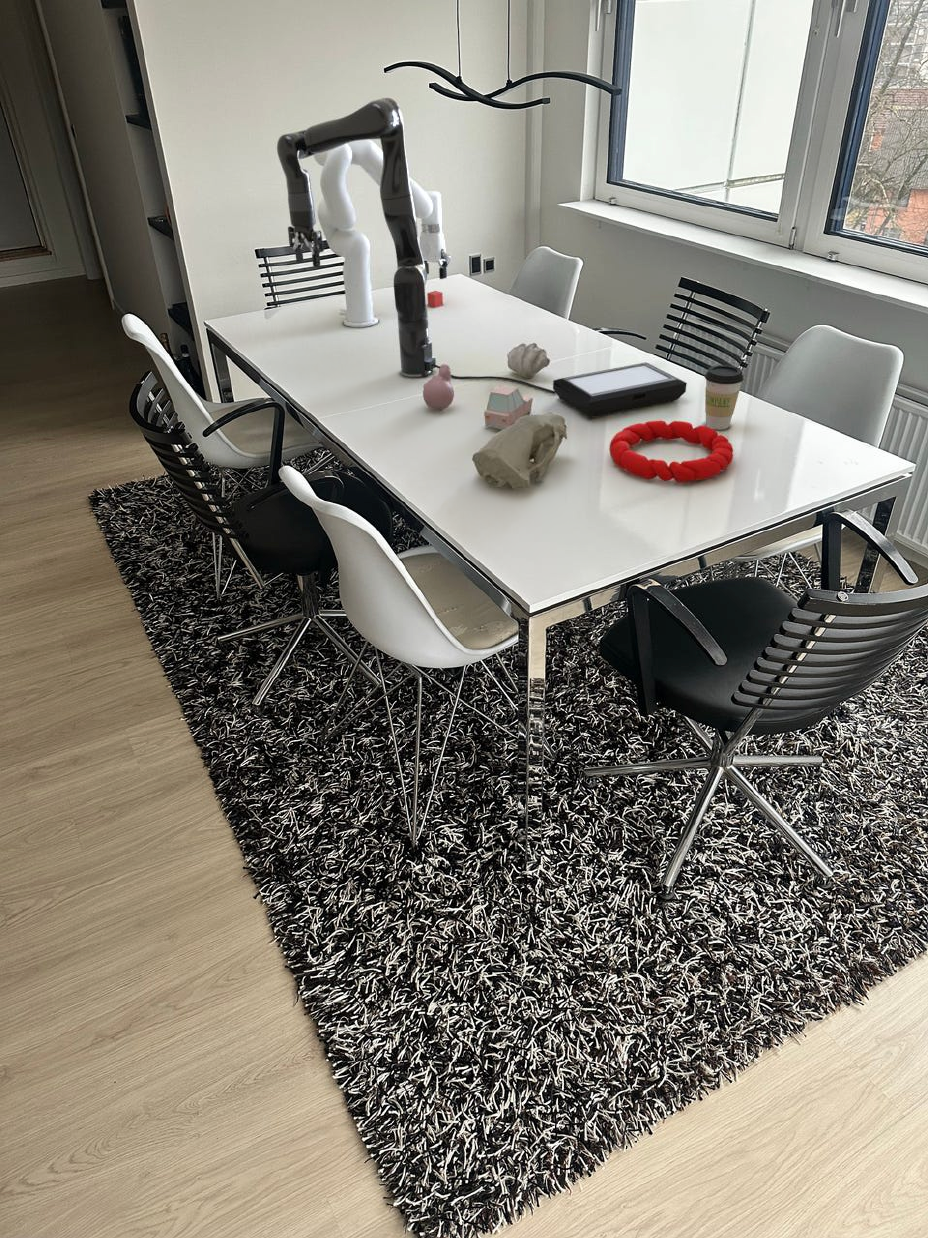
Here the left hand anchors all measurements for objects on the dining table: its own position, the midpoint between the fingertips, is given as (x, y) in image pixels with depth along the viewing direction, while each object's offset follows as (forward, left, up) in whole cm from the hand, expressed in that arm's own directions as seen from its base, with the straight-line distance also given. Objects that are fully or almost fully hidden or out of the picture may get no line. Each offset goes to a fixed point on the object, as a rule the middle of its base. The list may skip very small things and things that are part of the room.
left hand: (434, 276), depth 338 cm
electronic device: (+98, -67, -11) cm, 120 cm away
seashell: (+66, -59, -11) cm, 89 cm away
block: (0, 0, -11) cm, 11 cm away
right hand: (-3, -72, +20) cm, 75 cm away
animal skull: (+95, -121, -11) cm, 154 cm away
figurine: (+53, -93, -11) cm, 108 cm away
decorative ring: (+124, -100, -11) cm, 160 cm away
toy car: (+77, -95, -11) cm, 123 cm away
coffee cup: (+129, -74, -11) cm, 149 cm away
